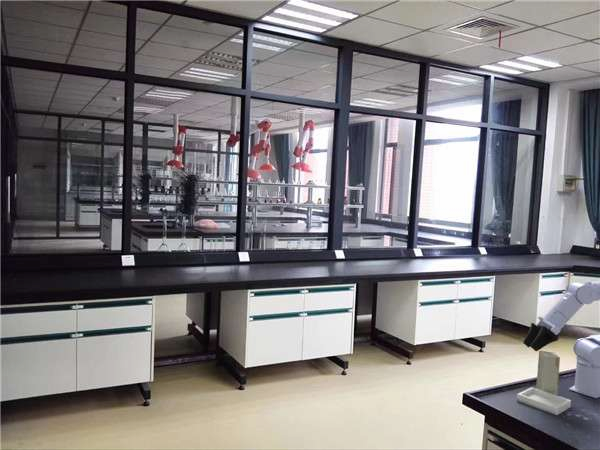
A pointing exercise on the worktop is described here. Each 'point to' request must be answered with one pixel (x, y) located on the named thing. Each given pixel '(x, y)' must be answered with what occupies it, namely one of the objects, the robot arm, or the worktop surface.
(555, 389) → the skincare box
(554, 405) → the tray
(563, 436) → the worktop surface
